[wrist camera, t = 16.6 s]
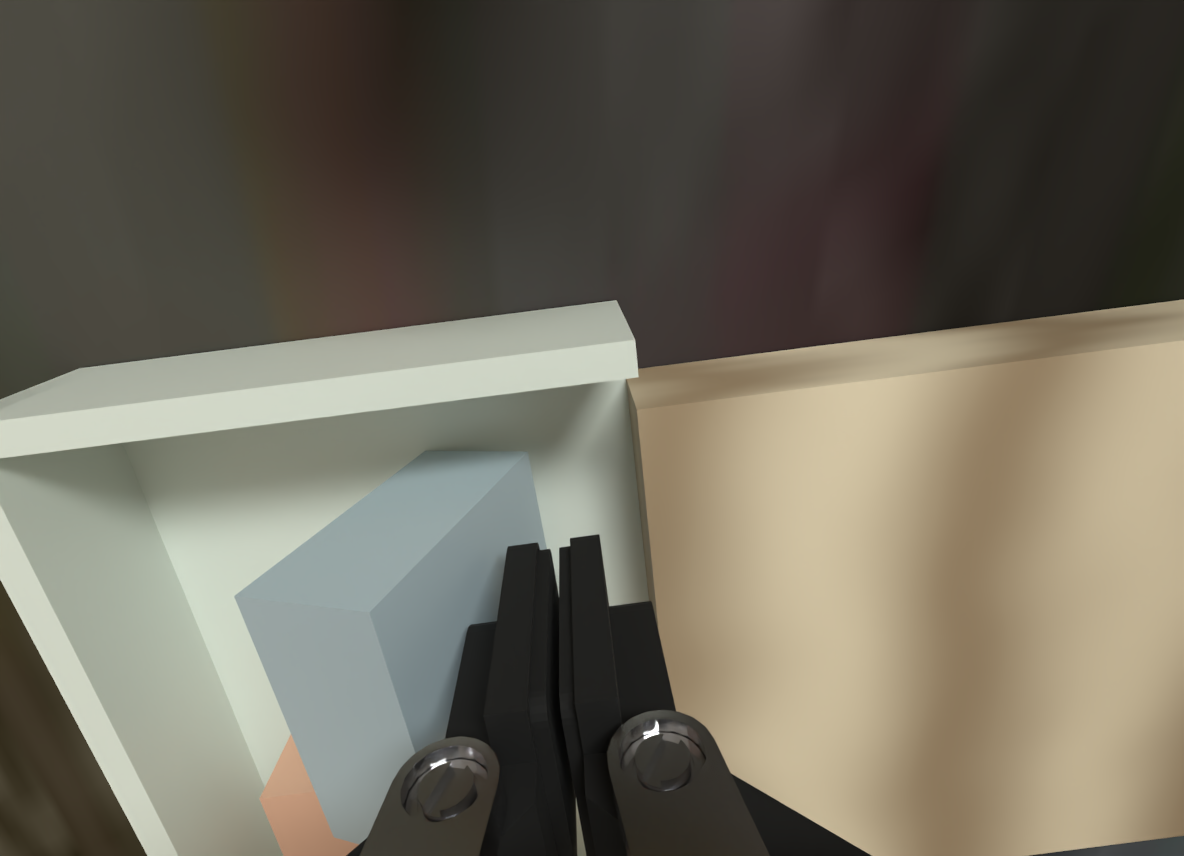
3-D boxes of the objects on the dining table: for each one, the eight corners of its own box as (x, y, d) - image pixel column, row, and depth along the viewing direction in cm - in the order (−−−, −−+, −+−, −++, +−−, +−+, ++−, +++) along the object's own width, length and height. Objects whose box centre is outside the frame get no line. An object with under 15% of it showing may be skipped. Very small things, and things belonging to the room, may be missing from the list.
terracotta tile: (259, 799, 14) (301, 711, 16) (322, 948, 15) (352, 851, 18) (493, 768, 14) (503, 686, 16) (529, 921, 15) (533, 827, 18)
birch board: (1278, 287, 14) (1425, 309, 11) (1157, 745, 18) (1244, 827, 16) (624, 370, 14) (636, 409, 11) (668, 807, 18) (684, 899, 16)
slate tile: (368, 612, 8) (233, 596, 9) (453, 870, 10) (333, 837, 11) (528, 451, 13) (425, 450, 14) (567, 653, 15) (474, 641, 15)
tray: (616, 300, 13) (635, 339, 10) (673, 844, 19) (696, 982, 16) (80, 368, 13) (-79, 430, 10) (300, 892, 19) (245, 1041, 16)
